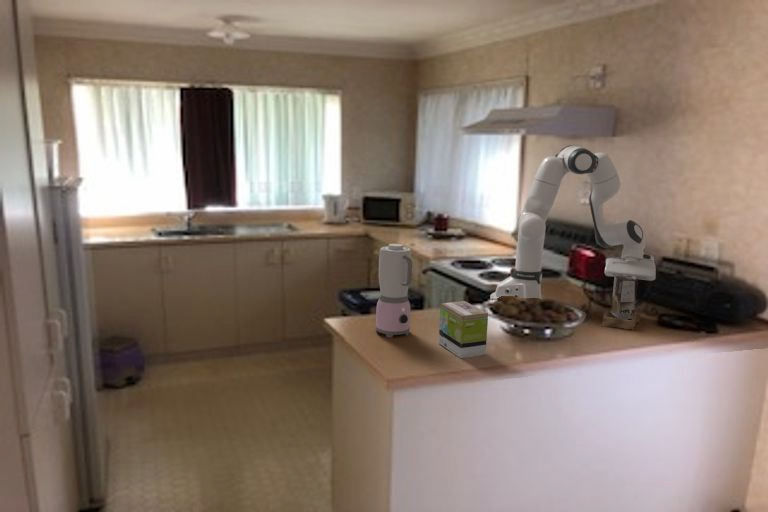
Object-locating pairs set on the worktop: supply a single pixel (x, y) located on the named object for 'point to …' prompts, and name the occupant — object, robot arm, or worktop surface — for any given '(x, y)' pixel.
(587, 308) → the worktop surface
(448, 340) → the tea box
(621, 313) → the coffee box
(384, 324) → the blender
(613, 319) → the wooden tray
